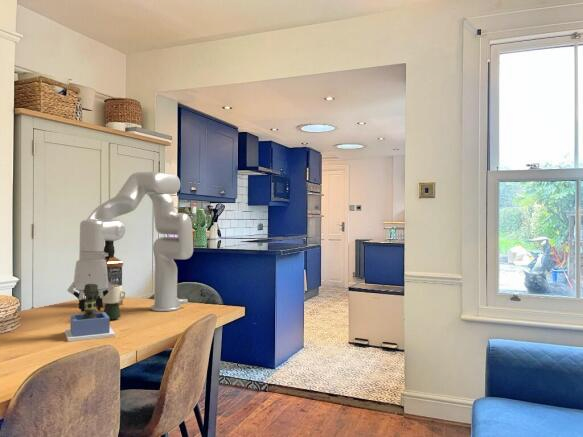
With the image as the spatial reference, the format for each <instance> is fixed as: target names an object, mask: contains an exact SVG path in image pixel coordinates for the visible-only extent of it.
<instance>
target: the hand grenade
mask: <svg viewBox="0 0 583 437" xmlns="http://www.w3.org/2000/svg"><path fill="white" fill-rule="evenodd" d="M89 276H91V275H90V274H89ZM97 289H98V285H96V284H86V285H85V288H84V290H83V292H84V295H83V299H84V311H83V312H82V314H83V318H82V320H84V319H96V317H95V314H94V313H95V312H97V311H96V310H97V306H96V305H97V298H98V290H97Z"/></svg>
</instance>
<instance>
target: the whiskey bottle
mask: <svg viewBox="0 0 583 437" xmlns="http://www.w3.org/2000/svg"><path fill="white" fill-rule="evenodd" d="M114 242H115V241H105V240H104V252H106V253H108V257H105V258H104V260H106V265H107V276H108V281H109V282H110V283H111V285H121V286H122V287H123V267H124V261H122V260H121V259H119V258H117V257H115V246H114ZM123 296H124V295H122V297H123ZM118 304H119V306H122V305H124V299H122V300H121V302H119V303H118ZM105 305H106V303H103V302H102V307H101V308H104V307H105ZM96 307H97V305H96Z"/></svg>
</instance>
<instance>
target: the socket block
mask: <svg viewBox="0 0 583 437" xmlns="http://www.w3.org/2000/svg"><path fill="white" fill-rule="evenodd" d="M94 314H95V317H96V319H84V320H82V318H83V313H77V314H70V326H69V327H70V328H64V334H65V337H66V340H67V342H78V341H79V342H80V341H87V340H97V339H103V338H104V339H105V338H113V337H116V333H115V331H114V330H113V329H112V327H111V326H110V325H111V323H110V321H111V319H110V318H109V316H108V315H107V314H106V313H105V312H104V311H103V312H101V311H100V312H94Z"/></svg>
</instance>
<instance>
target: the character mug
mask: <svg viewBox="0 0 583 437" xmlns="http://www.w3.org/2000/svg"><path fill="white" fill-rule="evenodd" d="M112 286H113V287H114V289H112V290H111V291H110V292H108V293H107V294H106V295H105V296H104V298H103V300H102V302H103V303H106V305H105V307H104V309H103V312H105V313H106V314H107V315H108V316H109V318H110V320H117V319H119V318H121V310H120V305H119V304H118V303H119V302H121V300H122V299H123V300H126V299H127V290H123V285H122V286H121V285H112ZM107 288H108V286H107ZM107 288H106V289H107ZM106 289H103V290H102V291H104V290H106ZM98 296H99V295H98ZM122 296H123V297H122Z"/></svg>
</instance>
